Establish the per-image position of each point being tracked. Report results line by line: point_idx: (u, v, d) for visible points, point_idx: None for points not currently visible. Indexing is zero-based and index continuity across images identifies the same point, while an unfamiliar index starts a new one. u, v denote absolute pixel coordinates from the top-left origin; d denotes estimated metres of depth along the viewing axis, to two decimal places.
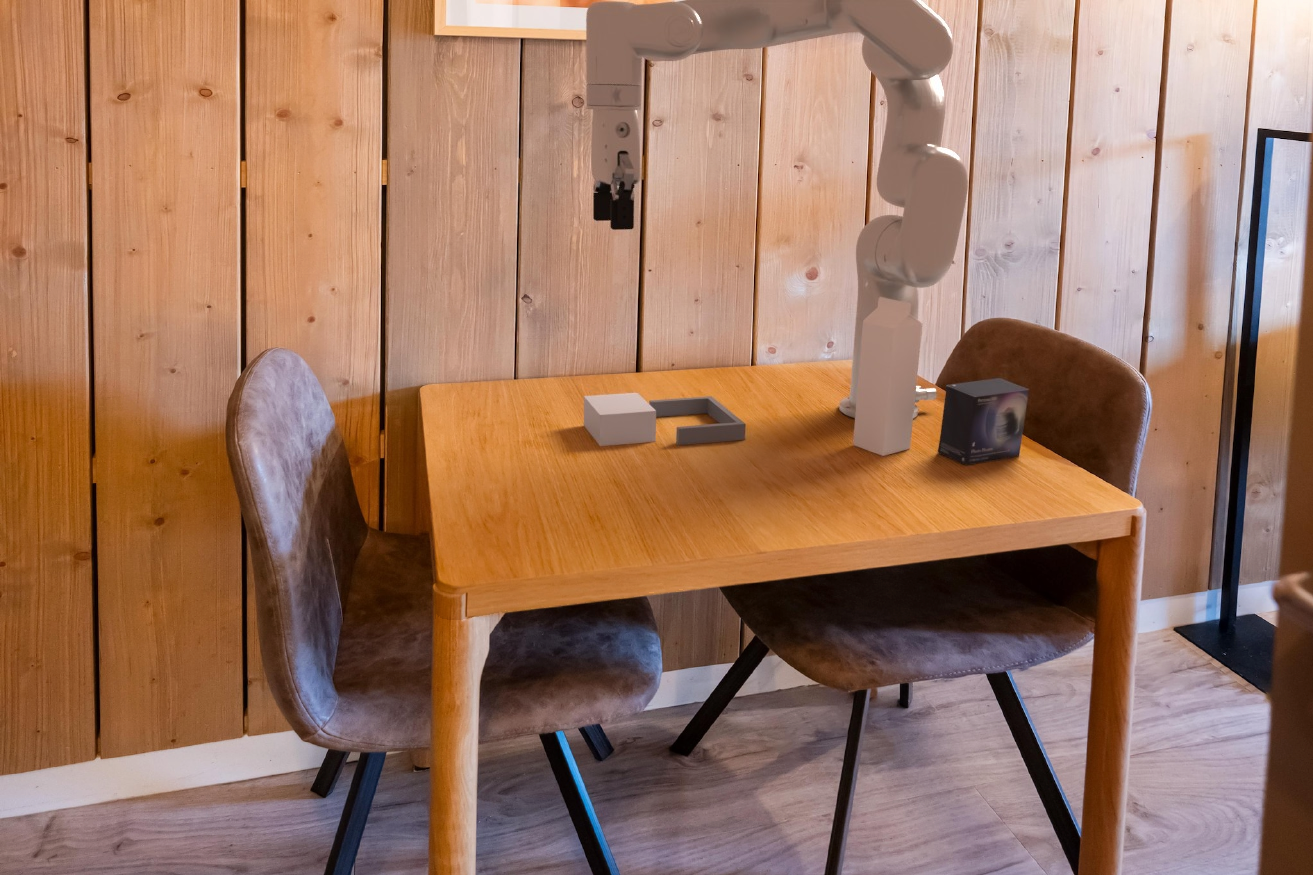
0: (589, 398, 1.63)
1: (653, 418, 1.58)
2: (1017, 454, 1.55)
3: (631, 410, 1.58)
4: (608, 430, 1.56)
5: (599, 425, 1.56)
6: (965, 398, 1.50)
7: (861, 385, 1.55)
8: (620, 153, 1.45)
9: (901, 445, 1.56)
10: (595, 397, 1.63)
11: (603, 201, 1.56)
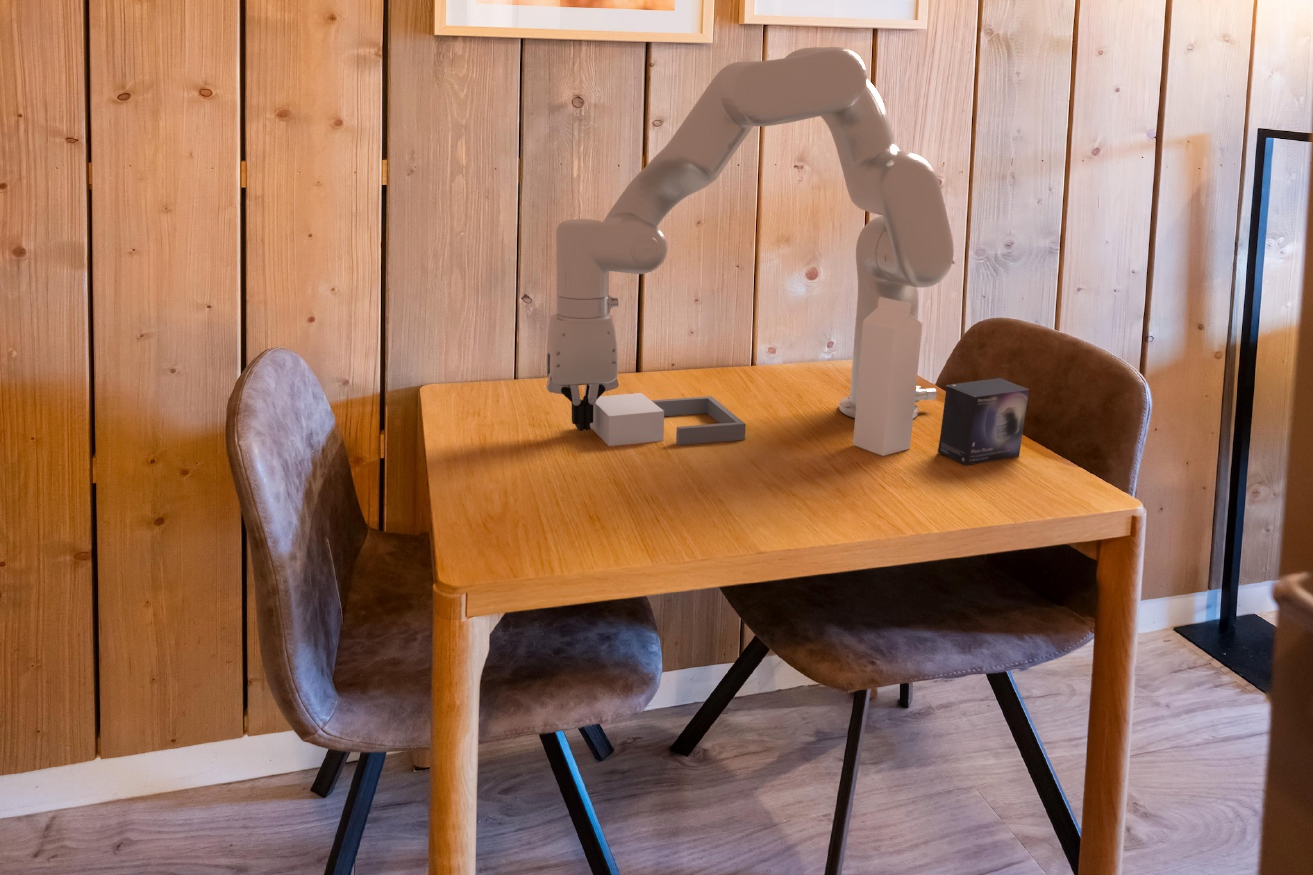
0: None
1: (661, 418, 1.58)
2: (1017, 454, 1.55)
3: (639, 410, 1.58)
4: (617, 431, 1.56)
5: (608, 426, 1.56)
6: (965, 398, 1.50)
7: (861, 385, 1.55)
8: None
9: (901, 445, 1.56)
10: (601, 398, 1.63)
11: None
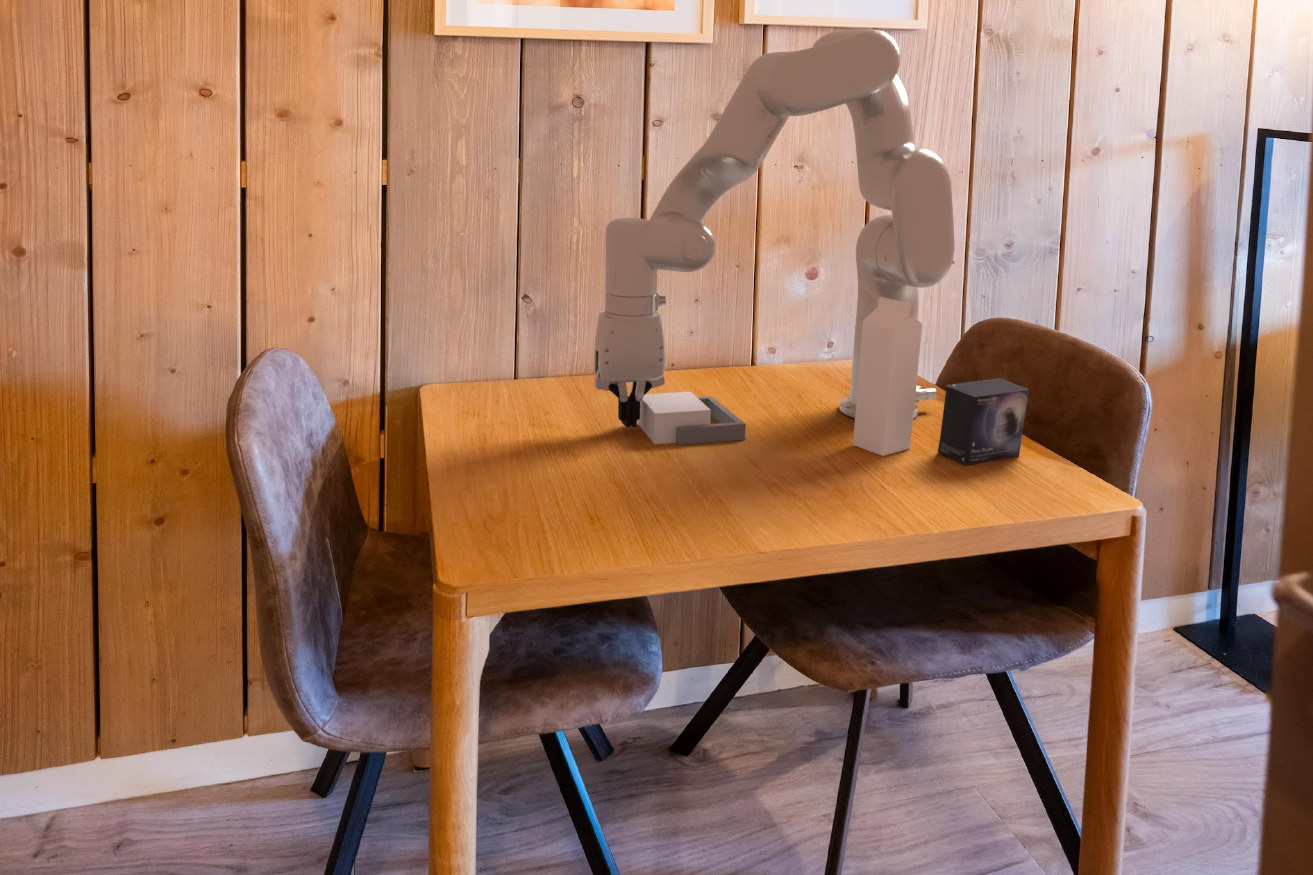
0: (643, 397, 1.64)
1: (707, 417, 1.59)
2: (1017, 454, 1.55)
3: (685, 408, 1.59)
4: (662, 428, 1.57)
5: (654, 423, 1.57)
6: (965, 398, 1.50)
7: (861, 385, 1.55)
8: None
9: (901, 445, 1.56)
10: (649, 396, 1.65)
11: None
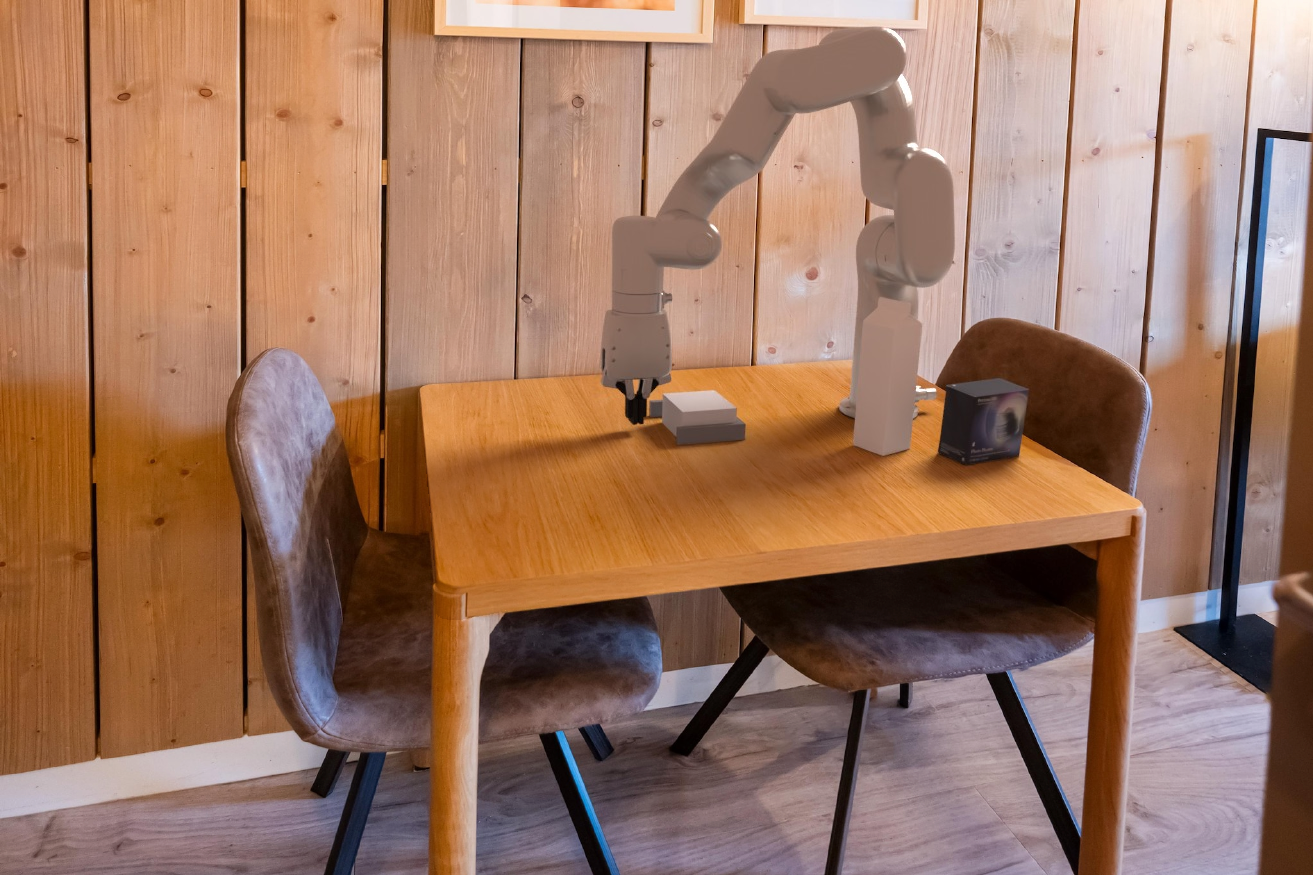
0: (668, 395, 1.65)
1: (734, 415, 1.60)
2: (1017, 454, 1.55)
3: (712, 407, 1.60)
4: None
5: (681, 422, 1.58)
6: (965, 398, 1.50)
7: (861, 385, 1.55)
8: None
9: (901, 445, 1.56)
10: (674, 394, 1.66)
11: None
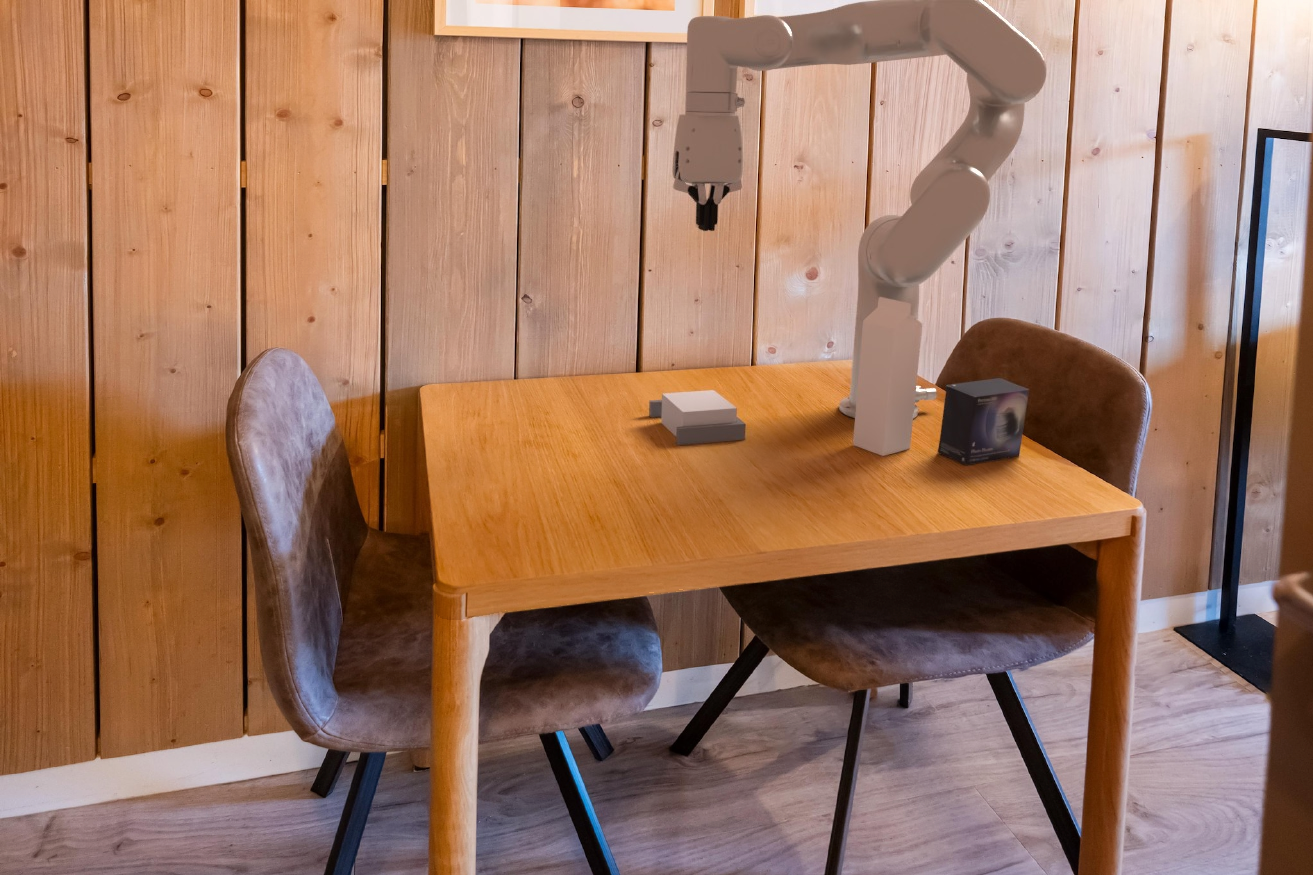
0: (668, 395, 1.65)
1: (734, 415, 1.60)
2: (1017, 454, 1.55)
3: (712, 407, 1.60)
4: None
5: (681, 422, 1.58)
6: (965, 398, 1.50)
7: (861, 385, 1.55)
8: None
9: (901, 445, 1.56)
10: (673, 394, 1.66)
11: None
